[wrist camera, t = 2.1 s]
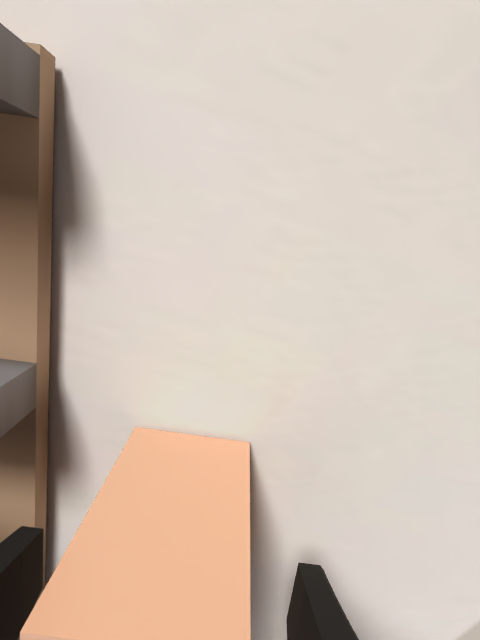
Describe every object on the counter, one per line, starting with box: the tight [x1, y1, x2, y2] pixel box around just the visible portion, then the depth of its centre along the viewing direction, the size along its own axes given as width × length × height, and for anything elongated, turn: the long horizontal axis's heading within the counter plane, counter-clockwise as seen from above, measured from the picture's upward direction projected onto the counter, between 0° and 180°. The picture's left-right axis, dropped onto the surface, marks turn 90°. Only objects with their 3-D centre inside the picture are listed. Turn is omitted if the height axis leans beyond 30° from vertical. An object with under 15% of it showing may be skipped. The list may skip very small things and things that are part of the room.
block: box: [20, 427, 251, 640], centre depth 11 cm, size 5×4×7 cm
